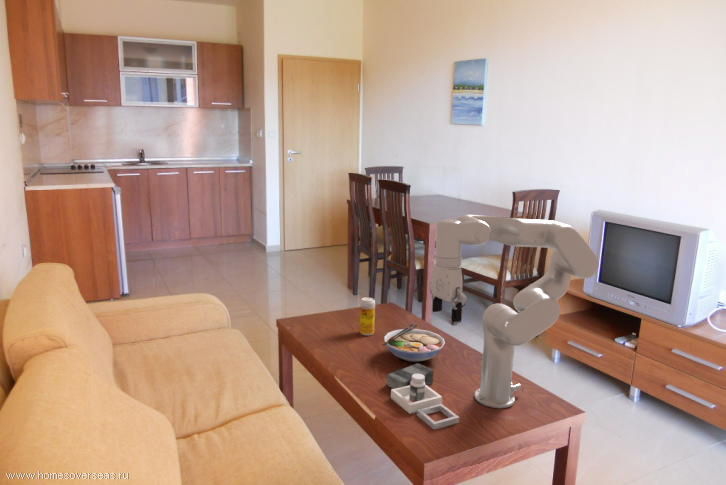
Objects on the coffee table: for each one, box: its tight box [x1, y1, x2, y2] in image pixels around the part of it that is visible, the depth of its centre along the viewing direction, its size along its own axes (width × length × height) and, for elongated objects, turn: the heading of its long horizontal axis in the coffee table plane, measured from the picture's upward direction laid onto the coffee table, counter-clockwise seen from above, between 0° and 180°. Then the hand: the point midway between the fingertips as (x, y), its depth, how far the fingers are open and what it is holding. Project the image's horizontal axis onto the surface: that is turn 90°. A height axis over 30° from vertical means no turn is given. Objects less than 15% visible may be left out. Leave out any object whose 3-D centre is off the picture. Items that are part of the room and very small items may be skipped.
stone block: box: [386, 362, 434, 390], centre depth 186 cm, size 9×14×5 cm, turn 129°
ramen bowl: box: [381, 323, 446, 363], centre depth 207 cm, size 25×23×8 cm
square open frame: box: [416, 403, 460, 431], centre depth 165 cm, size 9×9×2 cm
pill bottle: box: [409, 374, 425, 403], centre depth 174 cm, size 5×5×8 cm
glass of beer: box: [359, 296, 376, 337], centre depth 229 cm, size 6×6×15 cm
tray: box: [390, 385, 443, 415], centre depth 174 cm, size 12×11×3 cm
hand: (446, 316), depth 167 cm, fingers open, 9 cm apart
